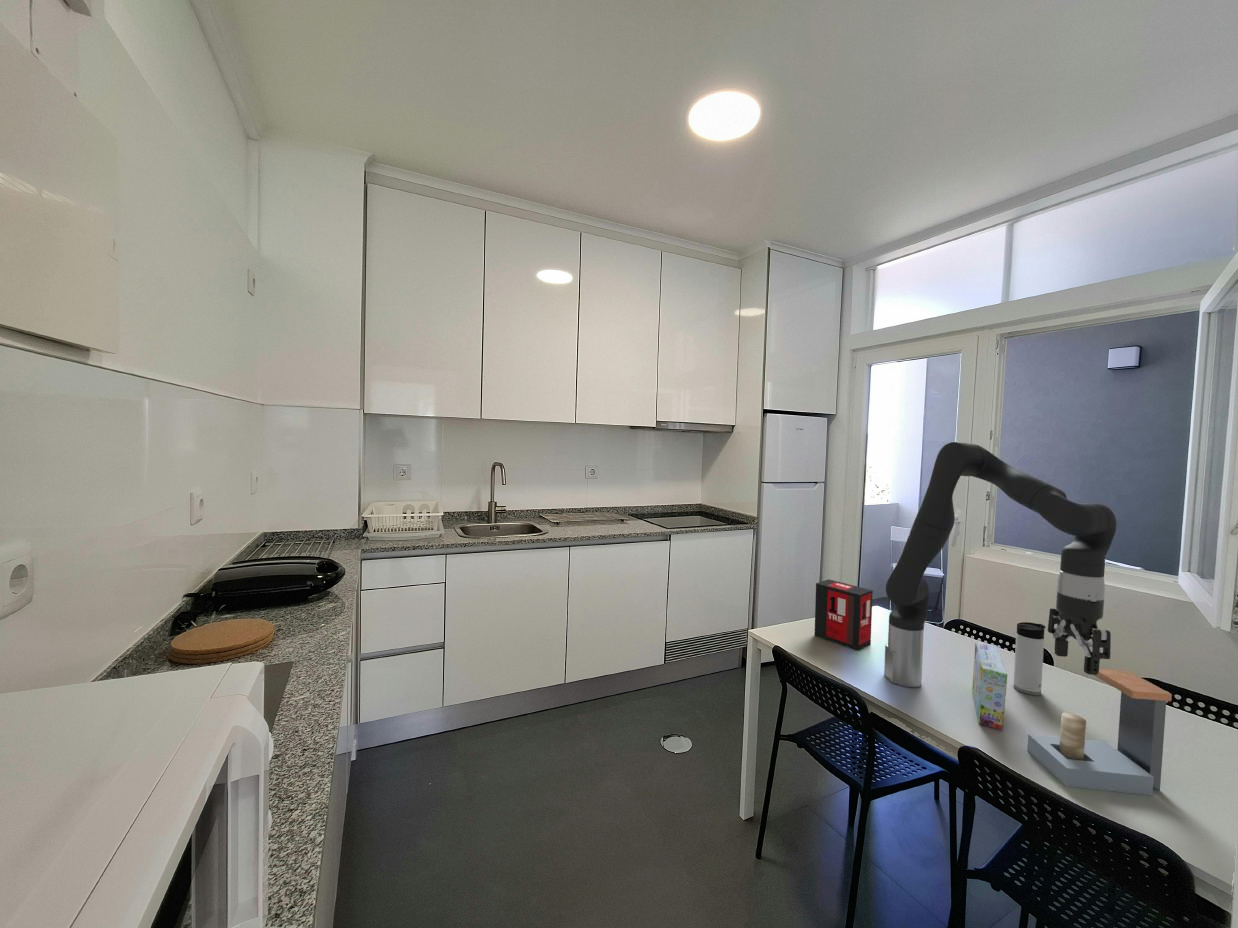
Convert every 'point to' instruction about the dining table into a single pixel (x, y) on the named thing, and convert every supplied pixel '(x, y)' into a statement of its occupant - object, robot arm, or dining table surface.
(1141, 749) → the orange-capped grey pillar
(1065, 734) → the peg
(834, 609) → the cleaning product box
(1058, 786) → the dining table surface
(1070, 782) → the socket block
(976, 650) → the snack box
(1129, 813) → the dining table surface
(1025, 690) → the travel mug
